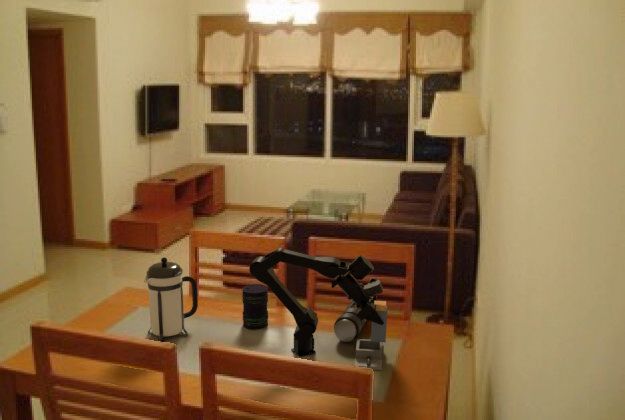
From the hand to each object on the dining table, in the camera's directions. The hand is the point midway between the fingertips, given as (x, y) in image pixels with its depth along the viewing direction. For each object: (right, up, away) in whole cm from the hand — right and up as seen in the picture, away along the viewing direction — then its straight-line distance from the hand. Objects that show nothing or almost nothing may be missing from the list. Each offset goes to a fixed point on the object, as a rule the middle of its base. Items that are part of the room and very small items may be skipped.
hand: (383, 321), depth 204 cm
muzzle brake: (-8, -8, +24) cm, 27 cm away
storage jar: (-46, -7, +29) cm, 55 cm away
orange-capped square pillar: (-1, -6, +2) cm, 7 cm away
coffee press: (-77, -9, +21) cm, 81 cm away
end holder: (-4, -13, +3) cm, 14 cm away
